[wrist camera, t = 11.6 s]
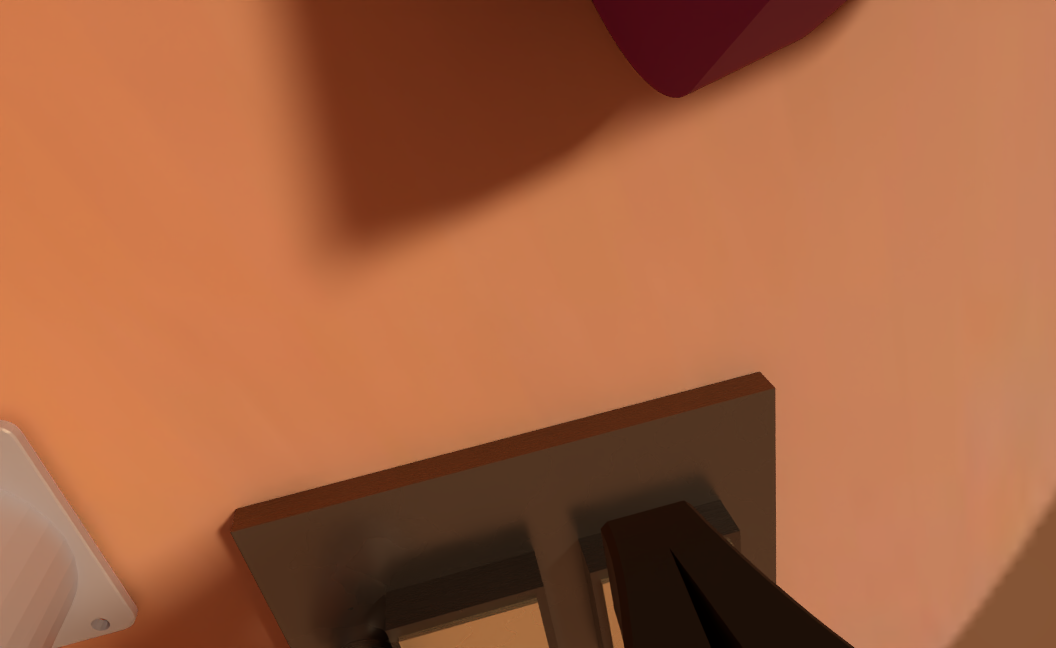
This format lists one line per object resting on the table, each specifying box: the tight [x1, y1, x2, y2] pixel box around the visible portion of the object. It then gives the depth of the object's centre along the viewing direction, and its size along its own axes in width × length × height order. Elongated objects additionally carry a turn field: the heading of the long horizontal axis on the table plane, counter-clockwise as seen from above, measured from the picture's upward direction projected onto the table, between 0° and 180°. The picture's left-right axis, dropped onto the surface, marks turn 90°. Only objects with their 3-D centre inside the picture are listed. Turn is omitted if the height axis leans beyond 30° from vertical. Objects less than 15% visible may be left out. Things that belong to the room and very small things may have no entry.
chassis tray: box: [231, 372, 776, 648], centre depth 24 cm, size 17×14×3 cm
